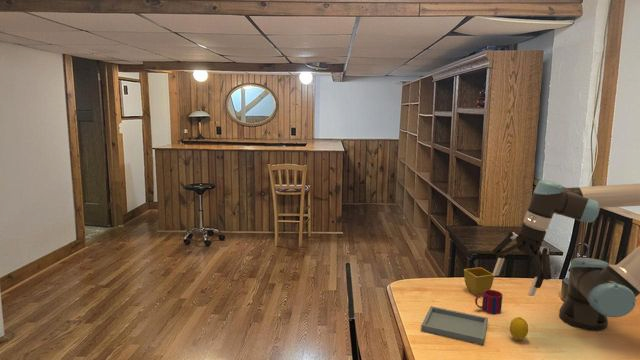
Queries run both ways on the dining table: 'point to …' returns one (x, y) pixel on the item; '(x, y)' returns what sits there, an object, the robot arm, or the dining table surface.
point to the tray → (455, 325)
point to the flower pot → (478, 280)
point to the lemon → (519, 328)
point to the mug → (491, 301)
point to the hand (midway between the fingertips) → (512, 285)
